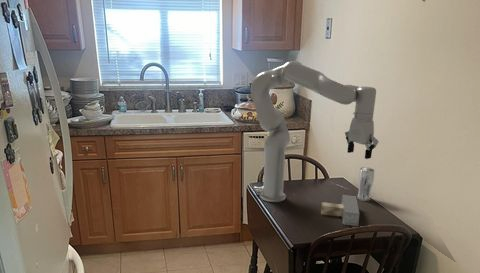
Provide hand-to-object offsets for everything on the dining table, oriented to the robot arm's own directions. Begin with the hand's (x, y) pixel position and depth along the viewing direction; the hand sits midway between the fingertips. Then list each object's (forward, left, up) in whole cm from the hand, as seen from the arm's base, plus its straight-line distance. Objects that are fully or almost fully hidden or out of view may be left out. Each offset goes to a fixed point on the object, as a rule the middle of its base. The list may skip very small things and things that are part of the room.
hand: (358, 155), depth 161 cm
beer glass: (+6, +16, -26) cm, 32 cm away
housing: (-2, -6, -26) cm, 27 cm away
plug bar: (-7, -6, -26) cm, 28 cm away
